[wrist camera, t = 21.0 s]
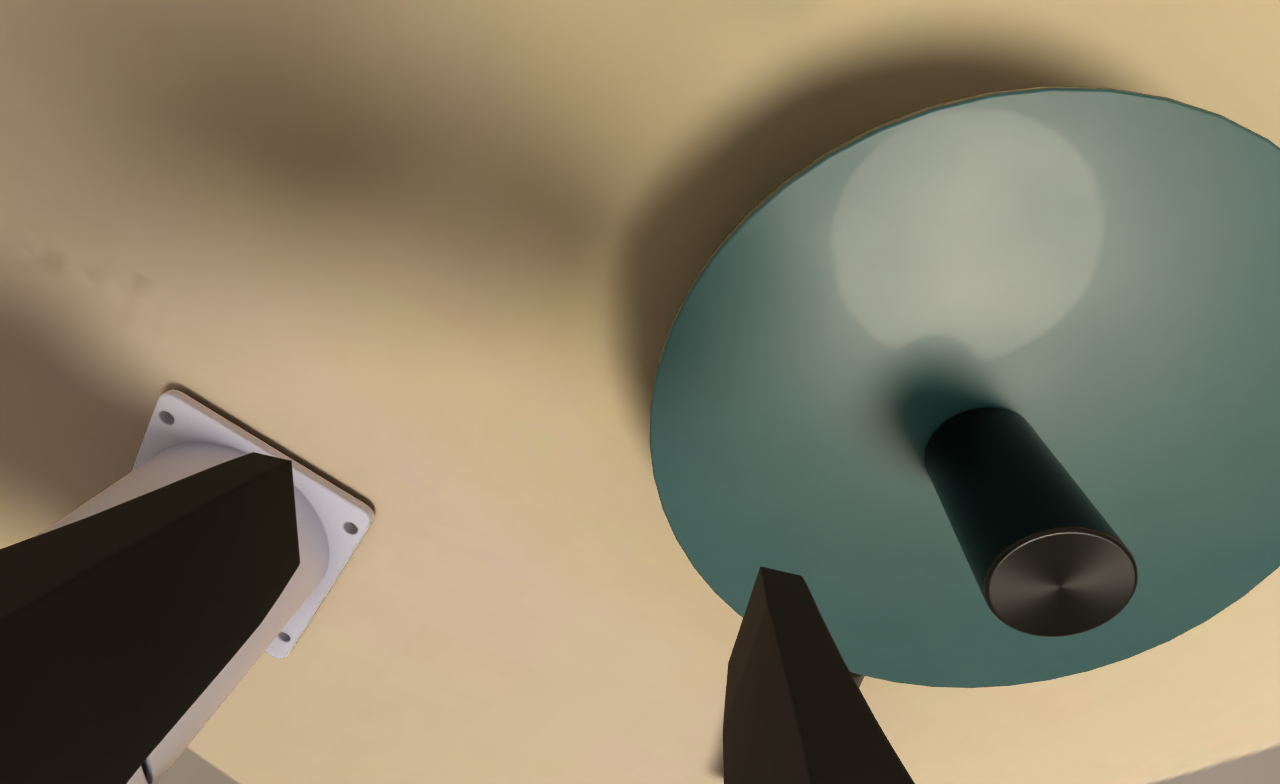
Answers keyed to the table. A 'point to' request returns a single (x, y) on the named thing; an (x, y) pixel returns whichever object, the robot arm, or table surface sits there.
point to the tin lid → (991, 386)
